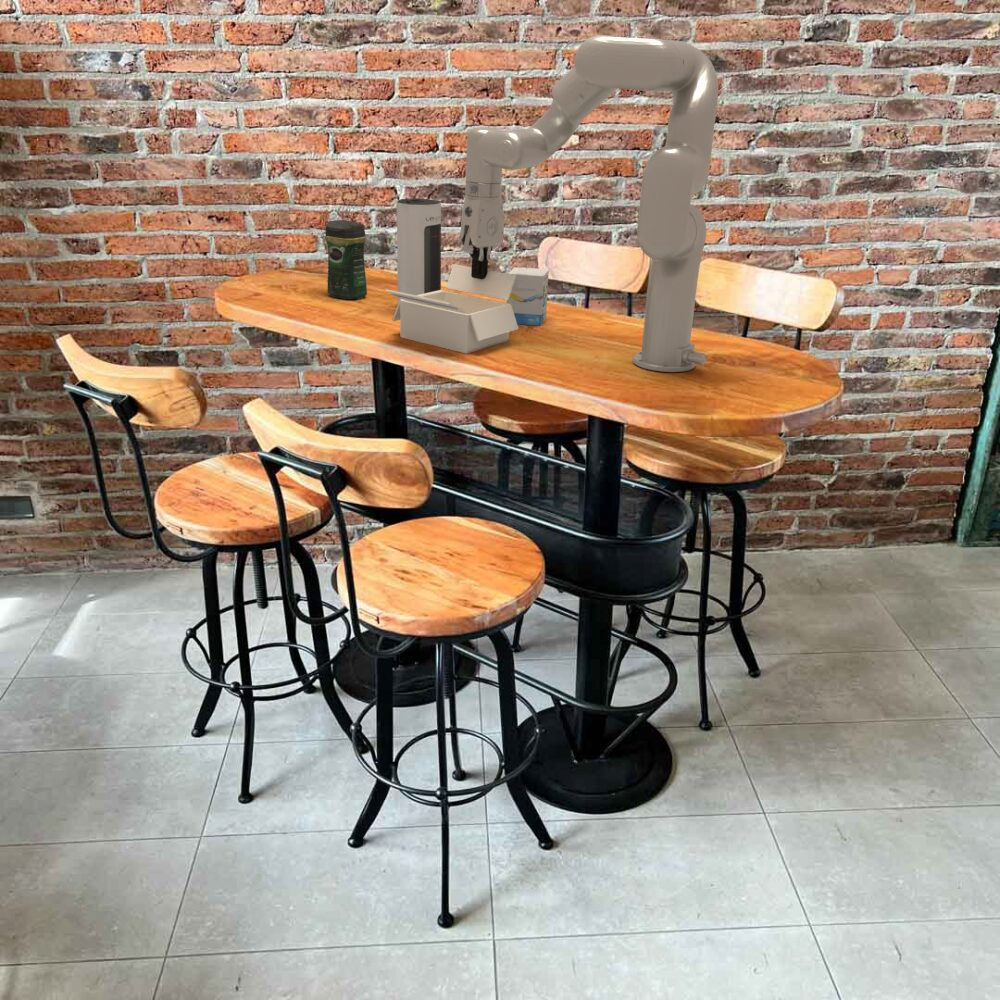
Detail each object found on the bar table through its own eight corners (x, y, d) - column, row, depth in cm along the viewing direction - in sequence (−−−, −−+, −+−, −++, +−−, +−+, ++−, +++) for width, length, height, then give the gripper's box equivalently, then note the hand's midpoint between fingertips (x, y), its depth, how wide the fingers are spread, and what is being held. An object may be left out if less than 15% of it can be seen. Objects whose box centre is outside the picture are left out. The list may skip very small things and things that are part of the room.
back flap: (508, 300, 209) (516, 276, 208) (507, 300, 208) (515, 275, 208) (447, 288, 218) (454, 264, 218) (445, 287, 218) (453, 263, 217)
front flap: (465, 310, 198) (449, 302, 193) (464, 313, 198) (449, 304, 193) (402, 297, 207) (386, 289, 203) (401, 299, 207) (385, 291, 203)
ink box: (540, 326, 225) (543, 275, 220) (504, 323, 226) (506, 272, 221) (546, 318, 232) (549, 268, 228) (511, 315, 234) (513, 266, 229)
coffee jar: (372, 296, 246) (371, 221, 239) (351, 301, 240) (349, 224, 233) (343, 291, 251) (341, 216, 244) (322, 296, 245) (319, 220, 238)
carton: (519, 343, 210) (520, 305, 207) (477, 356, 199) (478, 316, 196) (434, 323, 223) (434, 287, 220) (390, 335, 213) (390, 297, 209)
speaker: (413, 319, 226) (413, 203, 215) (387, 310, 233) (386, 197, 223) (449, 313, 233) (451, 200, 222) (423, 305, 240) (423, 195, 229)
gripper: (475, 195, 198) (472, 285, 205) (517, 190, 209) (512, 276, 217) (446, 191, 202) (444, 280, 209) (489, 186, 213) (485, 270, 220)
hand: (479, 277), depth 213 cm, fingers closed
